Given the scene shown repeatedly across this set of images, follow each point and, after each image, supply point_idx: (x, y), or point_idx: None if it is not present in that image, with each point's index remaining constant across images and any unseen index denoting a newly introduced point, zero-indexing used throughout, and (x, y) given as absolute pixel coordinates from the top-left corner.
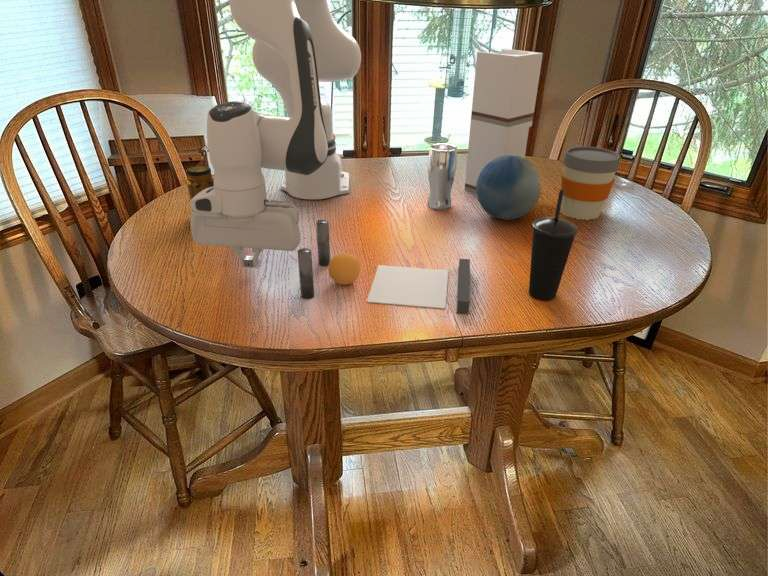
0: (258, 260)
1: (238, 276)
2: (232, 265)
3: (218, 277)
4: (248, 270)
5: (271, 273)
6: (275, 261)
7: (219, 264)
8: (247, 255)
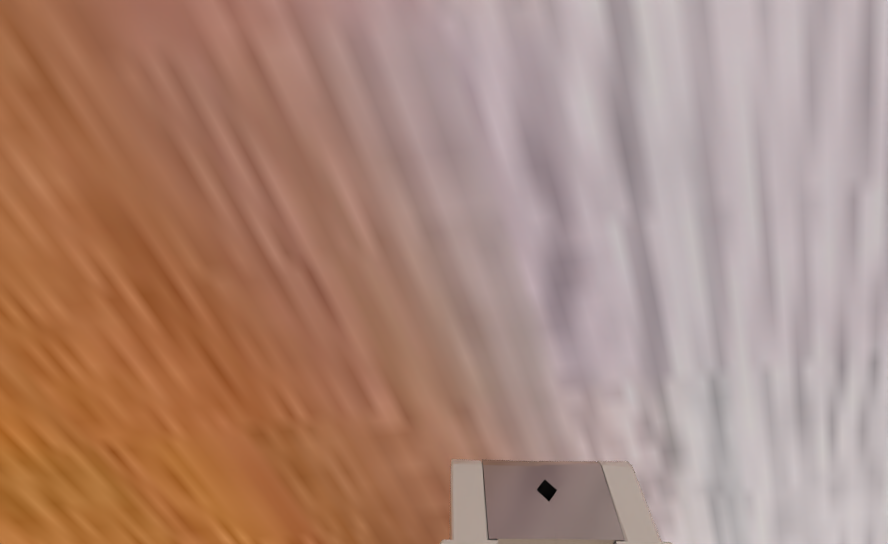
0: (641, 500)
1: (417, 478)
2: (252, 302)
3: (247, 510)
4: (471, 374)
5: (724, 397)
6: (743, 135)
7: (96, 300)
8: (504, 542)
